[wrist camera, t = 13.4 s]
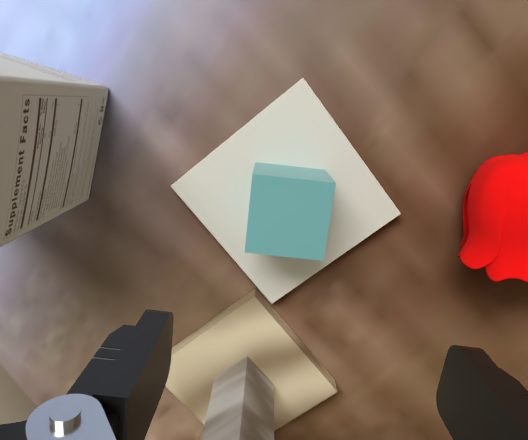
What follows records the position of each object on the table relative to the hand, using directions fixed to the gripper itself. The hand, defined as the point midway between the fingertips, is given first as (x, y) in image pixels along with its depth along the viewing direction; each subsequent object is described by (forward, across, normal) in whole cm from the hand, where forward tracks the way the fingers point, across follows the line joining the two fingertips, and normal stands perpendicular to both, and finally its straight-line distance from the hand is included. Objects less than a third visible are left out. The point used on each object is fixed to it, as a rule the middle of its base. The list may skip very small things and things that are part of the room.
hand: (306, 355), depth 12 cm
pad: (+20, 0, 0) cm, 20 cm away
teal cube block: (+18, 0, 0) cm, 19 cm away
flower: (+20, -16, -2) cm, 25 cm away
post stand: (+20, +2, +15) cm, 25 cm away
